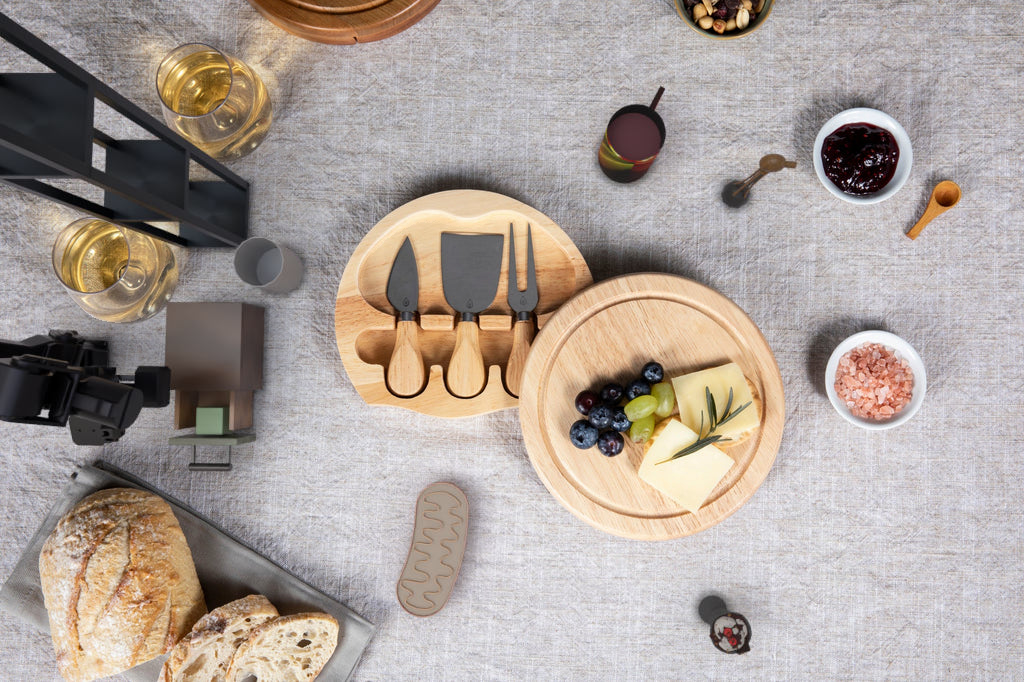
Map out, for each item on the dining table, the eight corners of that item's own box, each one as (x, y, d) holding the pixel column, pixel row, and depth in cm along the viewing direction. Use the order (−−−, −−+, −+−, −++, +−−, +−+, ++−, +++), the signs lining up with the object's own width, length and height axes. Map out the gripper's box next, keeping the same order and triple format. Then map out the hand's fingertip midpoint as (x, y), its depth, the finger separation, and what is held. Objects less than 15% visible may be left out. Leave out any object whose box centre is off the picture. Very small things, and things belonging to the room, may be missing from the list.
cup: (297, 298, 119) (276, 291, 109) (253, 289, 119) (228, 281, 110) (307, 252, 120) (287, 241, 110) (263, 243, 120) (239, 232, 110)
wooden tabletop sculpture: (755, 184, 119) (802, 146, 99) (752, 209, 119) (799, 176, 99) (722, 180, 119) (762, 142, 99) (719, 206, 119) (759, 172, 99)
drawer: (255, 467, 117) (236, 474, 109) (191, 466, 117) (167, 473, 110) (257, 364, 118) (239, 363, 110) (194, 363, 118) (171, 363, 110)
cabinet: (262, 389, 119) (239, 390, 109) (192, 388, 119) (163, 390, 109) (264, 307, 119) (242, 302, 110) (195, 307, 120) (166, 301, 110)
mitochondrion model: (425, 472, 117) (421, 476, 112) (480, 485, 117) (478, 490, 112) (395, 600, 117) (390, 610, 112) (450, 613, 116) (447, 624, 111)
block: (209, 406, 117) (196, 407, 112) (234, 406, 117) (222, 407, 112) (208, 432, 116) (195, 434, 112) (233, 432, 116) (222, 434, 112)
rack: (181, 248, 120) (-234, 98, 54) (183, 182, 121) (-225, -45, 55) (247, 248, 120) (-89, 98, 54) (249, 183, 120) (-82, -46, 54)
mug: (654, 109, 120) (668, 80, 108) (650, 184, 119) (664, 164, 107) (600, 106, 120) (609, 77, 108) (596, 182, 119) (605, 161, 107)
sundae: (691, 592, 116) (716, 625, 101) (729, 589, 116) (760, 621, 101) (694, 630, 115) (720, 669, 100) (733, 627, 115) (764, 665, 100)
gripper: (1, 445, 91) (76, 433, 107) (137, 447, 91) (192, 435, 107) (5, 364, 92) (79, 364, 107) (140, 365, 92) (194, 366, 107)
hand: (136, 384), depth 107 cm, fingers open, 9 cm apart
